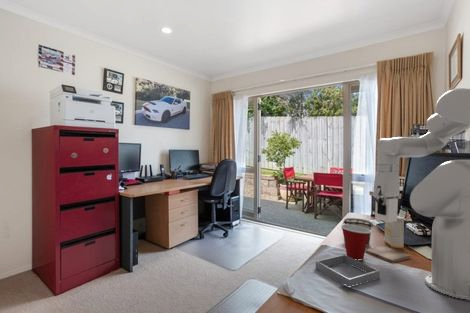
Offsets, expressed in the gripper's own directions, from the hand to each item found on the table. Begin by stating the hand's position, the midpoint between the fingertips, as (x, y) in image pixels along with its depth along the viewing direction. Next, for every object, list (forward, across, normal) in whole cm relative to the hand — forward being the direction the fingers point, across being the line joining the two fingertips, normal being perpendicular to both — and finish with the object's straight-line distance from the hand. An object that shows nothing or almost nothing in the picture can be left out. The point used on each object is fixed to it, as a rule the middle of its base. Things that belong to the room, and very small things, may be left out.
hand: (386, 213), depth 98 cm
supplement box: (+17, -14, -5) cm, 23 cm away
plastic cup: (+17, +14, -2) cm, 22 cm away
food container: (+17, -3, -15) cm, 23 cm away
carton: (+3, 0, 0) cm, 3 cm away
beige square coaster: (+17, 0, +1) cm, 17 cm away
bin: (+16, +28, +5) cm, 33 cm away
